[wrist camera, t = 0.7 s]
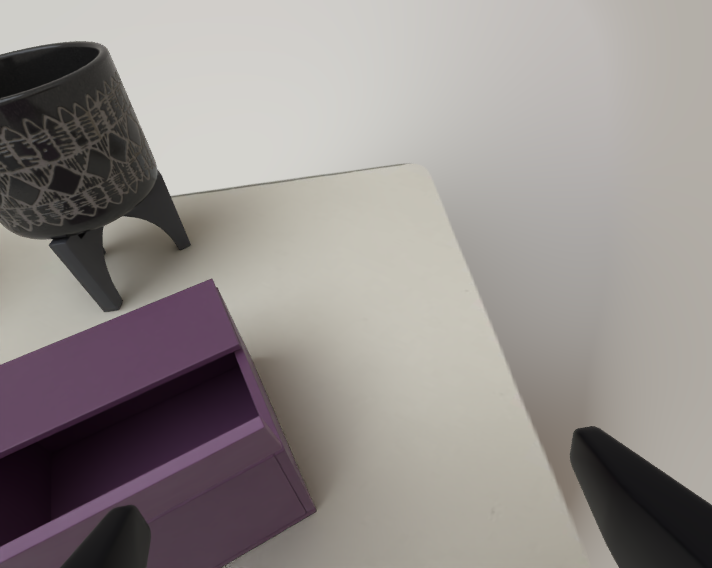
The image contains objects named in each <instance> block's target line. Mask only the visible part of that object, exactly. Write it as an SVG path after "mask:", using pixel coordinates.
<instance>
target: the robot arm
mask: <svg viewBox="0 0 712 568" xmlns="http://www.w3.org/2000/svg"><path fill="white" fill-rule="evenodd" d="M570 461H571V465H572V467H573V470H574V472H575V474H576V477H577V479H578V481H579V484H580V486H581V488H582V490H583V492H584V495H585V497H586V499H587V502H588V504H589V506H590V509H591V511H592V513H593V516H594V518H595V520H596V523H597V525H598V527H599V529H600V531H601V533H602V536H603V538H604V540H605V542H606V544H607V546H608V548H609V550H610V552H611V554H612V556H613V558H614V559H615V561H616V563H617V565H618V566H619V568H712V505H711V504H710V503H708V502H706V501H705V500H704V499H702V498H701V497H699V496H698V495H696V494H695V493H693V492H692V491H690V490H689V489H688V488H686V487H684V486H683V485H682V484H680V483H679V482H677V481H676V480H674V479H673V478H671V477H670V476H668V475H667V474H666V473H664V472H663V471H661V470H660V469H658V468H657V467H655V466H654V465H652V464H651V463H649V462H648V461H646V460H645V459H644V458H642V457H640V456H639V455H638V454H636V453H635V452H633V451H632V450H630V449H629V448H627V447H626V446H624V445H623V444H622V443H620V442H618V441H617V440H616V439H614V438H613V437H611V436H610V435H608V434H607V433H605V432H604V431H602V430H601V429H599V428H597V427H594V426H590V427H585V428H579V429H576V430H575V431H574V433H573V438H572V444H571V451H570ZM150 542H151V530H150V527H149V525H148V523H147V522H146V520H145V519H144V517H143V516H142V514H141V513H140V511H139V510H138V508H137V507H136V506H134V505H126V506H120V507H116V508H113V509H112V510H110V511H109V512H108V513H107V514H106V515H105V517H104V518H103V519H102V520H101V521H100V522H99V523H98V525H97V526H96V527H95V528H94V529H93V530H92V531H91V533H90V534H89V535H88V536H87V537H86V538H85V539H84V541H83V542H82V543H81V544H80V545H79V546H78V547H77V549H76V550H75V551H74V552H73V553H72V554H71V555H70V557H69V558H68V559H67V560H66V561H65V562H64V563H63V565H62V566H61V567H60V568H147V562H148V555H149V548H150Z"/></svg>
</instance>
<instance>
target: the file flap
mask: <svg viewBox="0 0 712 568" xmlns="http://www.w3.org/2000/svg"><path fill="white" fill-rule="evenodd" d="M280 449H282V446H281V443H280V441H279V439H278V438H277V437H276V436H275V434H274V433H273V432H272V430H271V429H270V428H269V427H268V425H267V424H266V423H265V421H264V420H263V419H262V418H261V416H258V417H256V418H254V419H252V420H250V421H248V422H246V423H244V424H242V425H240V426H238V427H236V428H234V429H232V430H230V431H228V432H226V433H224V434H222V435H220V436H218V437H216V438H214V439H212V440H210V441H208V442H206V443H204V444H202V445H200V446H198V447H196V448H194V449H192V450H190V451H188V452H186V453H184V454H182V455H181V456H179V457H177V458H175V459H173V460H171V461H169V462H167V463H165V464H163V465H161V466H159V467H157V468H155V469H153V470H151V471H149V472H147V473H145V474H143V475H141V476H139V477H137V478H135V479H133V480H131V481H129V482H127V483H125V484H123V485H121V486H119V487H117V488H115V489H113V490H111V491H109V492H107V493H105V494H103V495H101V496H100V497H98V498H96V499H94V500H92V501H90V502H88V503H86V504H84V505H82V506H80V507H78V508H76V509H74V510H72V511H70V512H68V513H66V514H64V515H62V516H60V517H58V518H56V519H54V520H52V521H50V522H48V523H46V524H44V525H42V526H40V527H38V528H36V529H34V530H32V531H30V532H28V533H26V534H24V535H22V536H20V537H19V538H17V539H15V540H13V541H11V542H9V543H7V544H5V545H3V546H1V547H0V568H60V567H61V566H62V565H63V563H64V562H65V561H66V560H67V559H68V558H69V557H70V555H71V554H72V553H73V552H74V551H75V550H76V549H77V547H78V546H79V545H80V544H81V543H82V542H83V541H84V539H85V538H86V537H87V536H88V535H89V534H90V533H91V531H92V530H93V529H94V528H95V527H96V526H97V525H98V523H99V522H100V521H101V520H102V519H103V518H104V517H105V515H106V514H107V513H108V512H109V511H110V510H112V509H113V508H116V507H120V506H126V505H134V506H136V507H137V508H138V510H139V511H140V513H141V514H142V516H143V517H144V519H145V520H146V521H148V520H149V519H151V518H153V517H155V516H157V515H159V514H161V513H162V512H164V511H166V510H168V509H170V508H172V507H174V506H176V505H177V504H179V503H181V502H183V501H185V500H187V499H189V498H191V497H192V496H194V495H196V494H198V493H200V492H202V491H204V490H206V489H207V488H209V487H211V486H213V485H215V484H217V483H219V482H220V481H222V480H224V479H226V478H228V477H230V476H232V475H234V474H235V473H237V472H239V471H241V470H243V469H245V468H247V467H249V466H250V465H252V464H254V463H256V462H258V461H260V460H262V459H264V458H265V457H267V456H269V455H271V454H273V453H275V452H277V451H279V450H280Z"/></svg>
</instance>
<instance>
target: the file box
mask: <svg viewBox="0 0 712 568" xmlns="http://www.w3.org/2000/svg"><path fill="white" fill-rule="evenodd" d="M258 416H261V418H262V419H263V420H264V421H265V423H266V424H267V425H268V427H269V428H270V429H271V430H272V432H273V433H274V434H275V436H276V437H277V438H278V439H279V441H280V443H281V446H282V449H280V450H279V451H277V452H275V453H273V454H271V455H269V456H267V457H265V458H264V459H262V460H260V461H258V462H256V463H254V464H252V465H250V466H249V467H247V468H245V469H243V470H241V471H239V472H237V473H235V474H234V475H232V476H230V477H228V478H226V479H224V480H222V481H220V482H219V483H217V484H215V485H213V486H211V487H209V488H207V489H206V490H204V491H202V492H200V493H198V494H196V495H194V496H192V497H191V498H189V499H187V500H185V501H183V502H181V503H179V504H177V505H176V506H174V507H172V508H170V509H168V510H166V511H164V512H162V513H161V514H159V515H157V516H155V517H153V518H151V519H149V520H148V521H146V522H147V523H148V525H149V527H150V530H151V542H150V548H149V555H148V562H147V568H221V567H223V566H224V565H226V564H228V563H230V562H231V561H233V560H235V559H236V558H238V557H240V556H241V555H243V554H245V553H247V552H248V551H250V550H252V549H253V548H255V547H257V546H258V545H260V544H262V543H264V542H265V541H267V540H269V539H270V538H272V537H274V536H276V535H277V534H279V533H281V532H282V531H284V530H286V529H287V528H289V527H291V526H293V525H294V524H296V523H298V522H299V521H301V520H303V519H304V518H306V517H308V516H310V515H311V514H313V513H315V512H316V508H315V506H314V503H313V501H312V499H311V496H310V494H309V492H308V489H307V487H306V485H305V482H304V480H303V478H302V475H301V473H300V471H299V468H298V466H297V464H296V461H295V459H294V457H293V454H292V452H291V450H290V447H289V445H288V443H287V440H286V438H285V436H284V433H283V431H282V429H281V426H280V424H279V422H278V419H277V417H276V415H275V412H274V410H273V408H272V405H271V403H270V401H269V398H268V396H267V394H266V391H265V389H264V387H263V384H262V382H261V380H260V377H259V375H258V373H257V370H256V368H255V366H254V363H253V361H252V359H251V357H250V354H249V352H248V350H247V348H246V346H245V344H244V342H243V340H242V338H241V336H240V334H239V332H238V329H237V327H236V325H235V323H234V321H233V319H232V317H231V315H230V313H229V311H228V309H227V306H226V304H225V302H224V300H223V298H222V296H221V294H220V292H219V290H218V288H217V287H216V286H215V284H214V281H213V279H210V280H207V281H205V282H202V283H200V284H197V285H195V286H192V287H190V288H187V289H185V290H183V291H180V292H178V293H175V294H173V295H170V296H168V297H165V298H163V299H161V300H158V301H156V302H153V303H151V304H148V305H146V306H143V307H141V308H139V309H136V310H134V311H131V312H129V313H126V314H124V315H121V316H119V317H116V318H114V319H112V320H109V321H107V322H104V323H102V324H99V325H97V326H94V327H92V328H90V329H87V330H85V331H82V332H80V333H77V334H75V335H72V336H70V337H68V338H65V339H63V340H60V341H58V342H55V343H53V344H50V345H48V346H45V347H43V348H41V349H38V350H36V351H33V352H31V353H28V354H26V355H23V356H21V357H19V358H16V359H14V360H11V361H9V362H6V363H4V364H1V365H0V547H1V546H3V545H5V544H7V543H9V542H11V541H13V540H15V539H17V538H19V537H20V536H22V535H24V534H26V533H28V532H30V531H32V530H34V529H36V528H38V527H40V526H42V525H44V524H46V523H48V522H50V521H52V520H54V519H56V518H58V517H60V516H62V515H64V514H66V513H68V512H70V511H72V510H74V509H76V508H78V507H80V506H82V505H84V504H86V503H88V502H90V501H92V500H94V499H96V498H98V497H100V496H101V495H103V494H105V493H107V492H109V491H111V490H113V489H115V488H117V487H119V486H121V485H123V484H125V483H127V482H129V481H131V480H133V479H135V478H137V477H139V476H141V475H143V474H145V473H147V472H149V471H151V470H153V469H155V468H157V467H159V466H161V465H163V464H165V463H167V462H169V461H171V460H173V459H175V458H177V457H179V456H181V455H182V454H184V453H186V452H188V451H190V450H192V449H194V448H196V447H198V446H200V445H202V444H204V443H206V442H208V441H210V440H212V439H214V438H216V437H218V436H220V435H222V434H224V433H226V432H228V431H230V430H232V429H234V428H236V427H238V426H240V425H242V424H244V423H246V422H248V421H250V420H252V419H254V418H256V417H258Z"/></svg>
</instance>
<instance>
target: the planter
mask: <svg viewBox="0 0 712 568" xmlns="http://www.w3.org/2000/svg"><path fill="white" fill-rule="evenodd" d="M122 216H127V217H135V218H140V219H144V220H147V221H149V222H151V223H153V224H155V225H157V226H158V227H160V228H161V229H162V230H164V231H165V232H166V233H167V234H168V235H169V236H170V237H171V238H172V240H173V241H174V242H175V244H176V245H177V247H178V248H179V249H180V250H181V249H184V248H186V247H188V246H190V245H191V244H190V241H189V239H188V237H187V234H186V232H185V230H184V227H183V225H182V222H181V220H180V218H179V215H178V213H177V211H176V208H175V206H174V204H173V201H172V199H171V196H170V194H169V192H168V189H167V187H166V185H165V182H164V180H163V178H162V175H161V174H160V172H159V171H158V170H157V165H156V162H155V160H154V157H153V155H152V152H151V150H150V148H149V145H148V143H147V141H146V138H145V136H144V133H143V131H142V129H141V126H140V124H139V122H138V119H137V117H136V114H135V112H134V110H133V108H132V105H131V103H130V101H129V98H128V96H127V93H126V91H125V88H124V86H123V84H122V81H121V79H120V77H119V74H118V72H117V70H116V67H115V65H114V63H113V60H112V58H111V56H110V53H109V51H108V49H107V48H106V47H105V46H103V45H101V44H99V43H95V42H86V41H76V42H63V43H55V44H48V45H41V46H36V47H31V48H26V49H22V50H17V51H13V52H9V53H5V54H1V55H0V223H1V224H2V225H3V226H4V227H5V228H6V229H8V230H9V231H11V232H13V233H15V234H17V235H19V236H22V237H26V238H30V239H40V240H46V239H53V240H52V241H51V243H50V244H49V246H50V248H51V249H52V250H53V251H54V252H55V254H56V255H57V256H58V257H59V258H60V260H61V261H62V262H63V263H64V264H65V266H66V267H67V268H68V269H69V270H70V271H71V273H72V274H73V275H74V276H75V277H76V279H77V280H78V281H79V282H80V283H81V285H82V286H83V287H84V288H85V289H86V291H87V292H88V293H89V294H90V295H91V297H92V298H93V299H94V300H95V301H96V302H97V304H98V305H99V306H100V307H101V308H102V310H103V311H104V312H106V311H114V310H119V308H120V306H121V304H122V301H123V300H122V298H121V297H120V295H119V293H118V291H117V290H116V288H115V286H114V284H113V282H112V280H111V277H110V275H109V272H108V270H107V266H106V263H105V258H104V254H105V253H106V251H105V250H104V248H103V240H102V235H103V227H104V226H105V225H107V224H109V223H111V222H113V221H115V220H117V219H118V218H120V217H122Z"/></svg>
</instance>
